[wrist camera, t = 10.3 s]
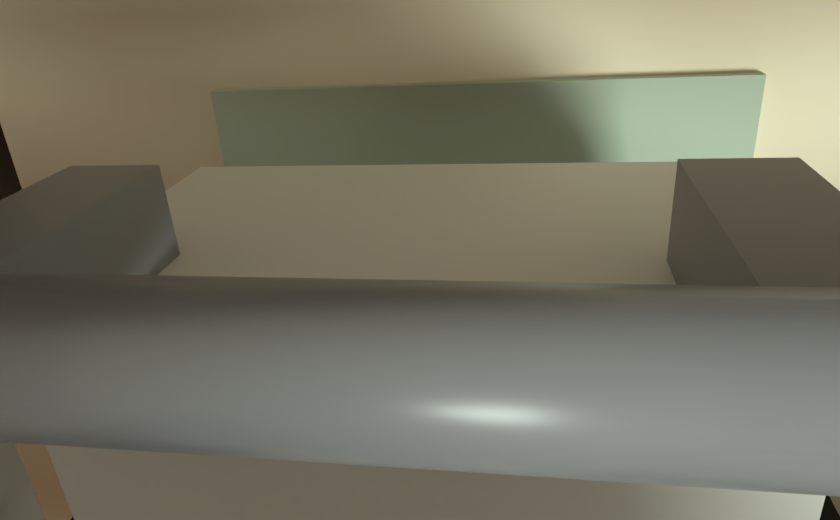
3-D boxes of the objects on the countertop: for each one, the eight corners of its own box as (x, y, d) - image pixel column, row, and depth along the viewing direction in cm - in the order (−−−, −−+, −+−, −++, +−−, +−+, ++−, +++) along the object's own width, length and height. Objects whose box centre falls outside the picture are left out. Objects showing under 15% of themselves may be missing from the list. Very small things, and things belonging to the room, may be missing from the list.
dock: (10, -199, 11) (-384, -303, 7) (1084, -321, 9) (1775, -653, 4) (197, 501, 18) (72, 707, 13) (835, 551, 16) (972, 832, 11)
